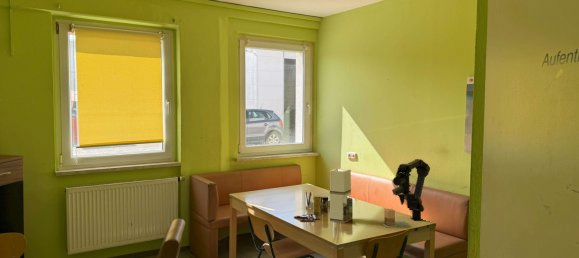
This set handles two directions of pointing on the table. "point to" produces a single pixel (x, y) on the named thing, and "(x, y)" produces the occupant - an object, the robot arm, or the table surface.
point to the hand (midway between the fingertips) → (405, 206)
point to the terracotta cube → (389, 213)
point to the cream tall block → (339, 194)
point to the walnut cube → (389, 221)
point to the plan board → (397, 224)
